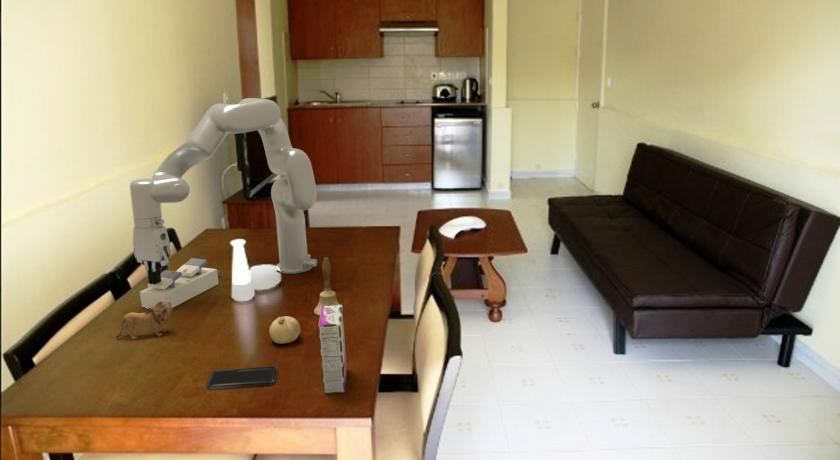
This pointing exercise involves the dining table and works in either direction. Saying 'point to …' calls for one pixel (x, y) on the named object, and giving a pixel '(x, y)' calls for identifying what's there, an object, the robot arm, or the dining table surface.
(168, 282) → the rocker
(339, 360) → the candy bar box
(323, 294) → the hand bell
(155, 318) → the lion figurine
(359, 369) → the dining table surface
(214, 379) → the phone
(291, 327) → the onion
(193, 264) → the rocker
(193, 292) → the strip
